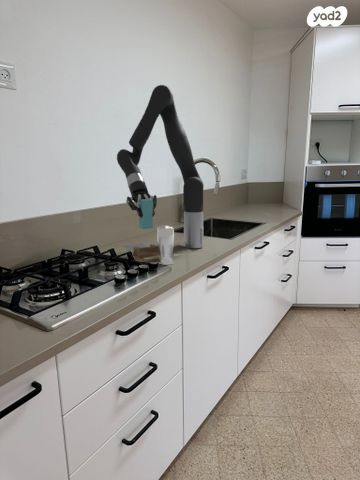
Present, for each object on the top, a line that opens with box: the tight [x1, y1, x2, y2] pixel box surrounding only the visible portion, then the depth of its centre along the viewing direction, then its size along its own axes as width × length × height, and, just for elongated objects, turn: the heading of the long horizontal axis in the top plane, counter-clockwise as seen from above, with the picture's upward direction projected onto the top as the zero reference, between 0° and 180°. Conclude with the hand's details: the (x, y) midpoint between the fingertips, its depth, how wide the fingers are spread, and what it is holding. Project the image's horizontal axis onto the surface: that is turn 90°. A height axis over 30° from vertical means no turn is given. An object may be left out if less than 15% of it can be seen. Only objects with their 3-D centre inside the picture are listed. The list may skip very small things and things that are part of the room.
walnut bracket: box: [124, 243, 159, 263], centre depth 149 cm, size 16×16×5 cm
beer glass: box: [156, 225, 175, 266], centre depth 139 cm, size 7×7×15 cm
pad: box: [122, 242, 148, 251], centre depth 164 cm, size 10×10×1 cm
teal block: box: [138, 199, 154, 230], centre depth 147 cm, size 4×4×12 cm
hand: (147, 216), depth 145 cm, fingers closed on teal block, 4 cm apart
